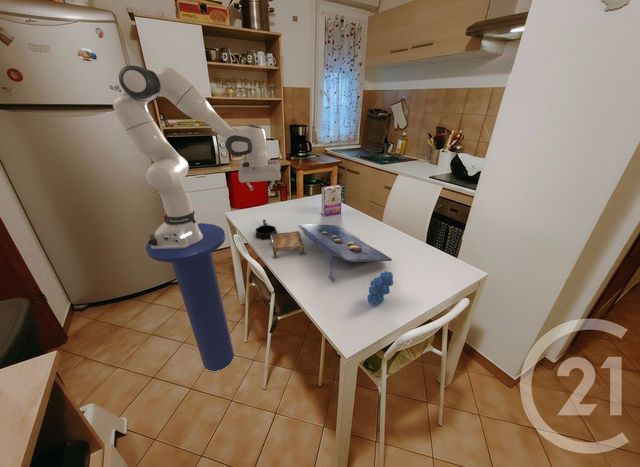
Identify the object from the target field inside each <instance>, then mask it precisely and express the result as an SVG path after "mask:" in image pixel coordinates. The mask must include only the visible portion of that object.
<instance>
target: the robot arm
mask: <svg viewBox="0 0 640 467" xmlns="http://www.w3.org/2000/svg"><path fill="white" fill-rule="evenodd" d="M118 82H119V84H120V87H121V88H122V90H123V92H124V93H122V95H119V96H117V97H115V99H114V100H113V102H112V108H113V110H114V112H115V115H116V116H117V119H118V121H119V122H120V124H121V125H122V128H123V129H124V131H125V132H126V133H127V135H128V136H129V138H130V139H131V141H132V142H133V144H134V145H135V147H136V148H137V150H138V151H140V152H141V153H143V154H144V155H146V156H147V158H149V159H150V160H151V161H152V162H153V163H152V164H151V165H150V166H149V167H148V169H147V170H146V173H145V177H146V180H147V182H148V184H149V185H150V186H151V187H153V188H155V189H156V191H157V193H158V194H159V196H160V198H161V200H162V203H163V206H164V209H165V211H164V213H163V216H162V221H163V223H161V224H160V225H159V226H158V227H157V228H156V230H155V232H154V233H153V234H150V235H149V241H148V242H149V244H150V245H151V248H152V249H182V248H186V247H188V246H189V245H192V244H194V243H196V242H198V241H200V240H201V239H202V238H203V235H202V233H201V231H200V229H199V227H198V225H197V223H198V222H197V214H196V212H195V209H194V207H193V203H192V199H191V195H190V193H189V192H187V190H186V189H185V187H184V185H183V181H182V180H183V179H184V178H185V177H187V175H188V172H189V168H190V166H189V163H188V160H187V159H186V158H185V157H183V156H181V155H180V154H179V153H178V152H177V150H176V149H175V148H174V147H173V146H172V145H171V144H170V142H169V141H168V140H167V139H166V136H165V135H164V134H163V132H162V131H161V129H160V128H159V125H158V124H157V122H156V120H155V119H154V117H153V116H152V114H151V113H150V111H149V109H148V107H149V106H150V105H151V104H152V103H153V102H155V101H156V100H157V99H158V97H159V96H162V97H163V98H165V99H167V100H168V101H169V102H170V103H171V104H173V105H174V107H176V108H177V109H178V110H179V111H180V112H182V113H183V114H184V115H186V116H187V117H189V118H190V119H193V120H196V121H199V122H202V123H205V124H206V125H207V126H209V127H210V128H211V129H213V131H215V133H217V134H218V135H219V136H220V137H222V138H223V140H224V142H225V149H226V151H227V152H228V154H230V155H231V156H233V157H242V156H246V155H247V158H243V159H241V160H240V161H239V167H238V181H239V183H242V184H243V183H246V185H247V186H248V188H249V190H250V192H252V191H254V186H252V185H251V183H257V182H271V183H270V184H268V188H269V190H273V186H274V184H275V181H280V180H281V179H282V175H281V168H282V166H281V162H279V161H278V160H268V159H269V158H268V153H267V139H266V133H265V129H264V128H263V127H261V126H260V125H255V124H247V125H245V127H243V128H242V129H240V130H237V129H236V128H233V127H232V126H231V125H229V123H228V122H226V121H225V120H224V119H223V118H222V117H221V116H220V115H219V114H218V113H217V111H216V110H214V108H213V107H212V106H211V104H210V103H209V101H208V100H207V98H206V97H205V96H204V95H203V94H202V92H200V90H199V89H198V88H197V87H196V86H195V85H194V84H193V83H192V82H191V81H190V80H188V79H187V78H186V77H185V76H183V75H182V74H181V73H180V72H178V71H176V70H175V69H174V68H173V67H169V66H167V67H163V68H161V69H160V70H158V71H157V72H155V71H153V70H150V69H147V68H144V67H143V66H139V65H134V64H130V65H126V66H124V67H122V68H121V69H120V70H119V72H118Z"/></svg>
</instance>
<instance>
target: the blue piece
mask: <svg viewBox="0 0 640 467" xmlns="http://www.w3.org/2000/svg"><path fill="white" fill-rule="evenodd" d="M297 226H298V228H300V230H302V232H303V234H304V235H305V236H306V237H307V238H308V239H310V241H312V242H313V243H315V244H316V245H317V246H318V247H319V249H321V250H322V251H323V252H325V253H326V254H327V255H328V258H329V268H330V270H329V271H330V273H329V274H330V275H329V276H330V279H331V280H332V281H334V276H333V270H332V267H333V266H332V265H333V258H334V257H337V258H341V259H342V260H343V261H344V262H351V263H363V262H365V263H366V262H375V263H376V262H392V261H393V260H392V258H391V257H389V256H388V255H387V254H385V253H383V252H381V251H380V250H378V249H376V248H374V247H372V246H371V245H369V244H367V243H366V242H364V241H362V240H361V239H360V238H358V237H356V236H354V235H352V234H351V233H349V232H348V231H346V230H344V229H342V228H341V227H339V226H336V225H334V224H320V223H319V224H318V223H299V224H298V225H297Z"/></svg>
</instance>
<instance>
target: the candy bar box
mask: <svg viewBox="0 0 640 467" xmlns="http://www.w3.org/2000/svg"><path fill="white" fill-rule="evenodd" d="M342 192H343V187H342V186H341V185H339V184H336V185H328V186H322V187H321V214H322V215H323V216H324V217H326V216H332V215H337V214H341V213H342V195H343V194H342Z"/></svg>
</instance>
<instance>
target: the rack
mask: <svg viewBox="0 0 640 467" xmlns="http://www.w3.org/2000/svg"><path fill="white" fill-rule="evenodd" d="M272 235H273V236H272ZM270 238H271V239H270V243H271V248H272V253H273V259H277V258H278V256H277V253H278V252H286V251H287V252H288V251H294V250H295V251H296V250H300V252H301V255H305V249H306V246H305V242H304V239H303V238H302V235H301V233H300V231H298V230H297V231H296V230H295V231H287V232H279V233H277V234H271V235H270Z"/></svg>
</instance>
